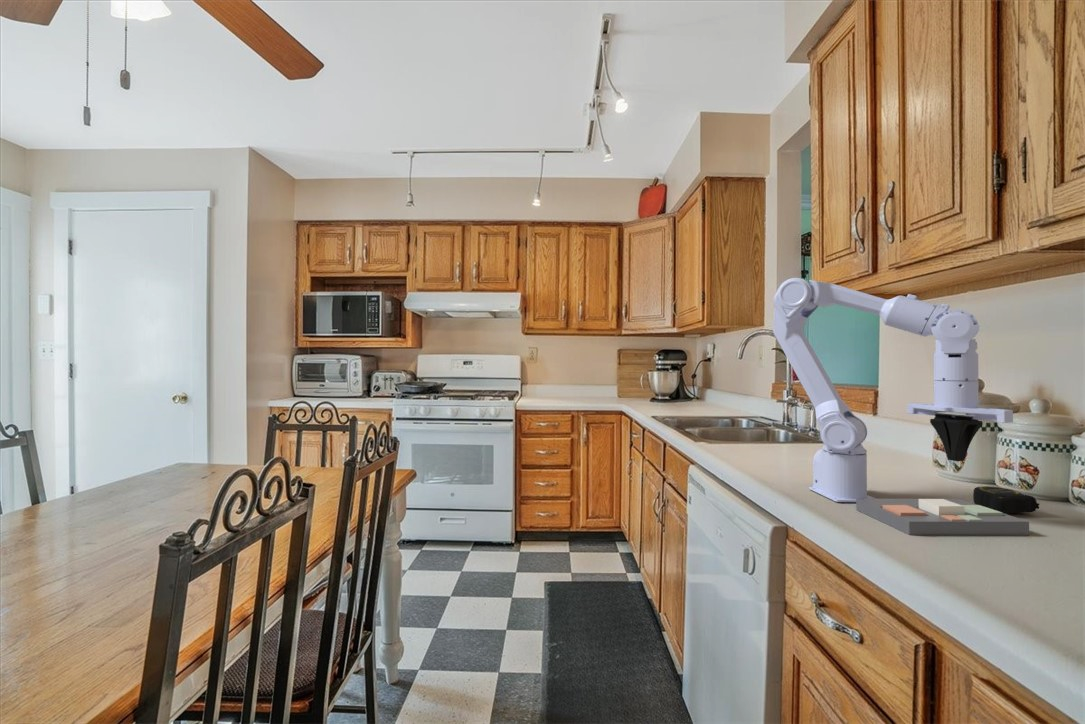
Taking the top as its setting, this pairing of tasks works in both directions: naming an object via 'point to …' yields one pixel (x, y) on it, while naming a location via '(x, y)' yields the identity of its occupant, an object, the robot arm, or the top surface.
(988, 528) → the keypad
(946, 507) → the cream key
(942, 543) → the top surface
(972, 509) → the sage key
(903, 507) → the terracotta key
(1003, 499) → the tape measure
